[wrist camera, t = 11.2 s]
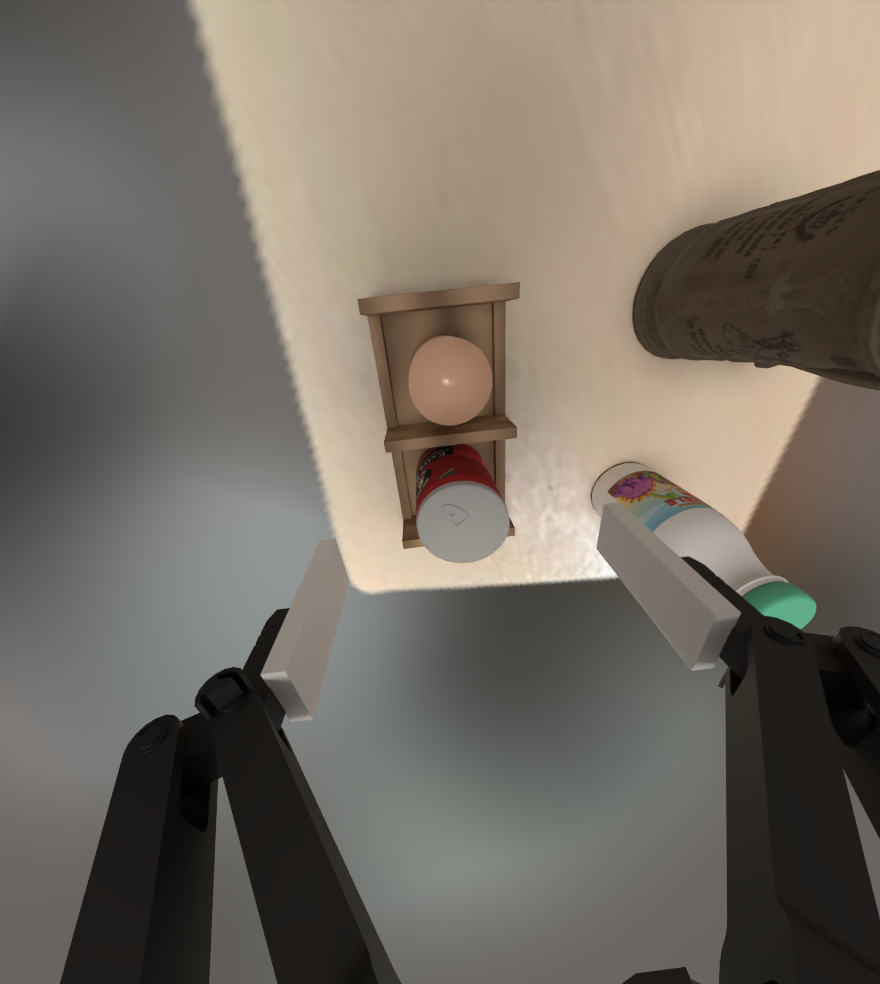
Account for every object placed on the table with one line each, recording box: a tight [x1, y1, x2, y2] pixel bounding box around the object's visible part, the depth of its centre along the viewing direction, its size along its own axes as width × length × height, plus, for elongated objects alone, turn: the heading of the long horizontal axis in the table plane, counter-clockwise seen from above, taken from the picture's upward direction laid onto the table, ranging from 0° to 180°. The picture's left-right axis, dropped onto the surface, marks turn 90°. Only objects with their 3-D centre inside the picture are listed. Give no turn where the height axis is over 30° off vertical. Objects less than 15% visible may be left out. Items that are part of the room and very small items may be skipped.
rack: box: [358, 282, 520, 549], centre depth 31 cm, size 12×23×6 cm, turn 5°
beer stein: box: [634, 170, 880, 390], centre depth 22 cm, size 15×11×20 cm
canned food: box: [416, 444, 510, 563], centre depth 31 cm, size 8×8×11 cm
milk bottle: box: [592, 463, 816, 629], centre depth 31 cm, size 8×8×20 cm
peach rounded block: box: [408, 334, 492, 426], centre depth 27 cm, size 6×6×9 cm
